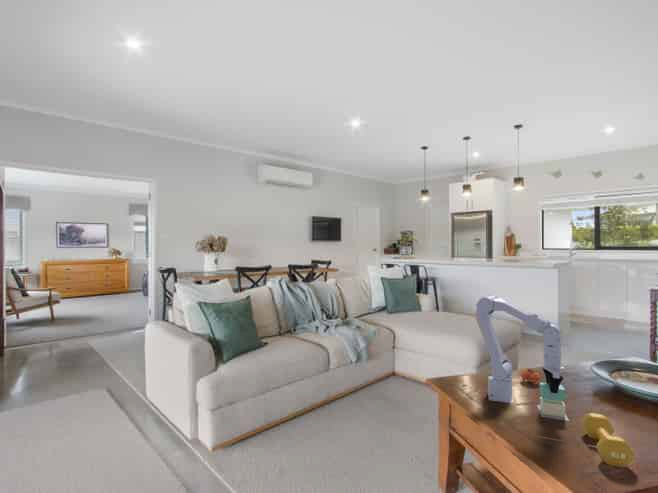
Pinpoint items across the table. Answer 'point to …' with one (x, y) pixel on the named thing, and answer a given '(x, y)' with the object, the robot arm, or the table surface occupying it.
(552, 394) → the brick teal
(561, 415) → the brick cream
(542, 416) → the build board
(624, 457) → the dumbbell
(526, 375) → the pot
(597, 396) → the table surface
